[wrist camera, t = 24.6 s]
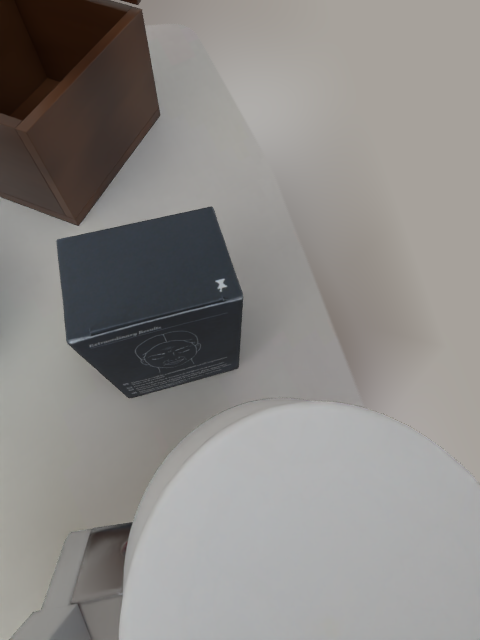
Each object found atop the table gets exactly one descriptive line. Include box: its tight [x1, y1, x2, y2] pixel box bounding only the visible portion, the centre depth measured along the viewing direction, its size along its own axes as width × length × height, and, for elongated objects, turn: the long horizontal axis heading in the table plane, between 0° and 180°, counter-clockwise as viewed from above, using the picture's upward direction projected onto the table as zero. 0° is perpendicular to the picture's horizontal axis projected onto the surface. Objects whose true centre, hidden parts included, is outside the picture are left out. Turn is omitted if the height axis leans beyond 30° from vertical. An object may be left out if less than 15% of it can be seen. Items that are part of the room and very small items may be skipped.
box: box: [56, 207, 243, 398], centre depth 22 cm, size 8×6×11 cm
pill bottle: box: [119, 398, 480, 640], centre depth 9 cm, size 6×6×11 cm
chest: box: [0, 0, 160, 226], centre depth 30 cm, size 15×13×9 cm
